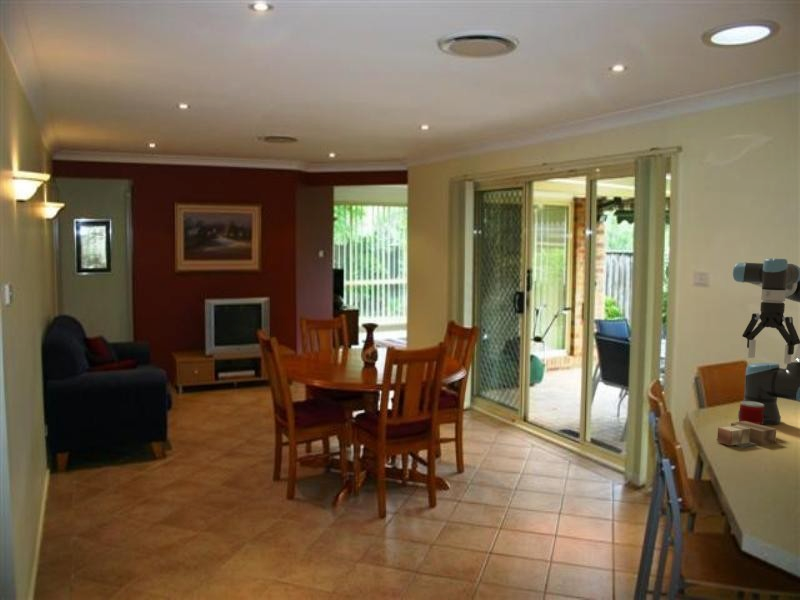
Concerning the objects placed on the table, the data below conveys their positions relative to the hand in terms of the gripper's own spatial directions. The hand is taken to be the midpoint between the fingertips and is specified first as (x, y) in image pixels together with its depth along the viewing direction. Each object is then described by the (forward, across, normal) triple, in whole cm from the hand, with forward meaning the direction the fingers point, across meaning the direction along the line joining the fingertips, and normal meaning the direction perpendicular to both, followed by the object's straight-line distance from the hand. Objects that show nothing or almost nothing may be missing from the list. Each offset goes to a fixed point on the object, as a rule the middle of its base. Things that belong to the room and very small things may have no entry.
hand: (769, 360), depth 243 cm
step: (+29, -1, -5) cm, 29 cm away
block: (+26, -1, -11) cm, 28 cm away
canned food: (+29, -8, +4) cm, 30 cm away
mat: (+29, -1, -14) cm, 32 cm away
